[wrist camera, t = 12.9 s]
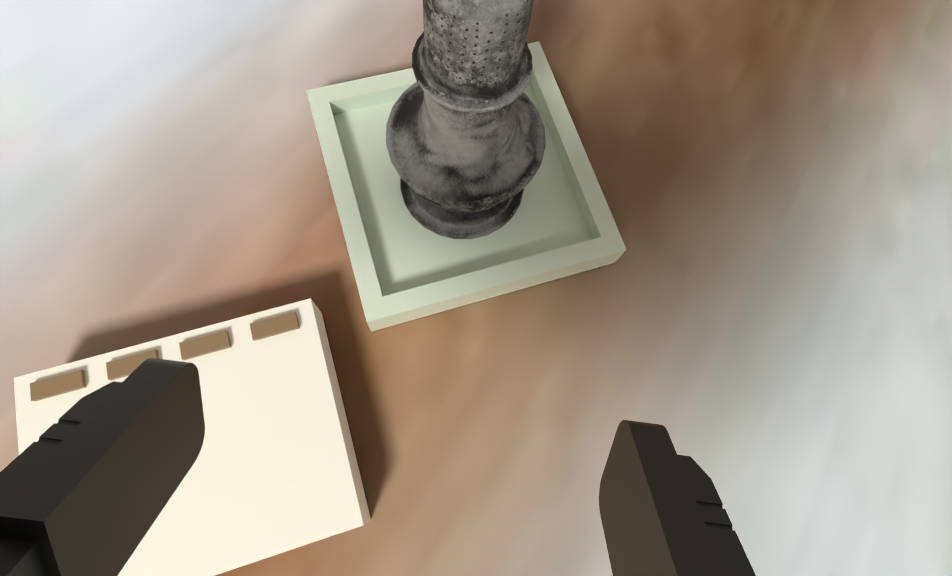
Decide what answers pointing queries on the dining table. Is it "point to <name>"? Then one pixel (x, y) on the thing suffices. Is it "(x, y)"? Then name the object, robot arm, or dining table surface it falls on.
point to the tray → (442, 258)
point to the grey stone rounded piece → (467, 118)
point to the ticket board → (234, 440)
